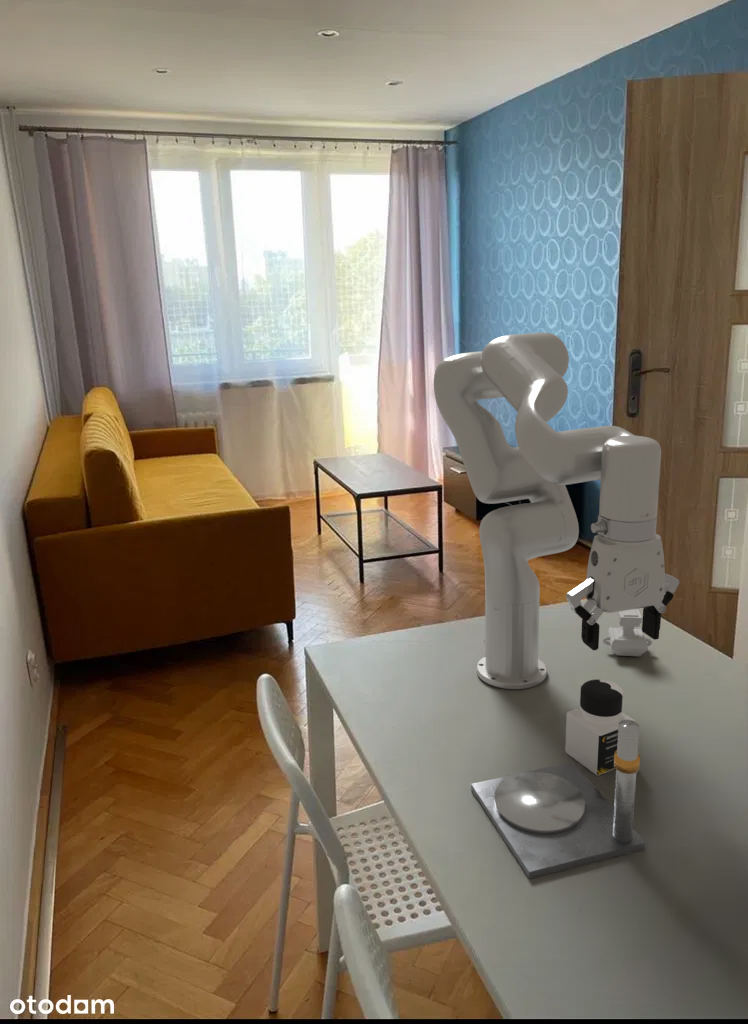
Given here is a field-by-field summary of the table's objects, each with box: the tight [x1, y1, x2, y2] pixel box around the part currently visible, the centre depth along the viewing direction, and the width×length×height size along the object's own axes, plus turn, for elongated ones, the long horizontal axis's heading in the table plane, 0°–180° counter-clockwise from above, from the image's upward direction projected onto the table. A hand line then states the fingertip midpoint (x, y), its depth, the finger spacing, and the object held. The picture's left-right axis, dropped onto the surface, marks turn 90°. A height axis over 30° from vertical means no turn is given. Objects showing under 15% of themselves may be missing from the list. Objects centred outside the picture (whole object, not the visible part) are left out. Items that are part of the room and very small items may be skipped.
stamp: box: [602, 608, 653, 657], centre depth 147 cm, size 9×7×8 cm
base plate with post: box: [470, 720, 646, 879], centre depth 102 cm, size 18×16×17 cm
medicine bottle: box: [564, 678, 636, 777], centre depth 115 cm, size 7×7×12 cm
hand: (620, 640), depth 111 cm, fingers open, 9 cm apart
